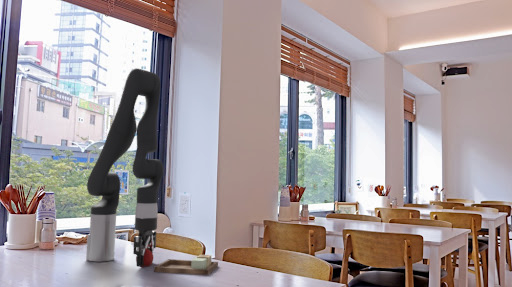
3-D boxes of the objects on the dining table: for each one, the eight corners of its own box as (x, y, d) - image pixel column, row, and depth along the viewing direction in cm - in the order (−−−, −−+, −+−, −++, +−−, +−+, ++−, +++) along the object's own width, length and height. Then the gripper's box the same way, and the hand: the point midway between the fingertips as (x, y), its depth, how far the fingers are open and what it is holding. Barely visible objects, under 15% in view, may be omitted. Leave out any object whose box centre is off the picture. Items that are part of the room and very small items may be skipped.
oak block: (196, 268, 146) (196, 256, 146) (199, 266, 150) (200, 254, 150) (208, 269, 145) (208, 257, 146) (211, 266, 149) (211, 255, 150)
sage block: (191, 272, 140) (191, 260, 140) (194, 270, 144) (195, 257, 144) (202, 273, 140) (203, 260, 140) (206, 270, 143) (206, 258, 144)
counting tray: (153, 276, 141) (154, 266, 141) (168, 267, 153) (168, 259, 154) (207, 279, 138) (207, 270, 138) (217, 270, 150) (217, 262, 151)
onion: (148, 271, 147) (149, 247, 147) (132, 270, 148) (133, 246, 148) (155, 268, 152) (156, 245, 153) (140, 267, 153) (141, 244, 154)
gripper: (144, 213, 159) (142, 259, 158) (127, 217, 145) (124, 267, 144) (164, 214, 158) (162, 260, 157) (148, 218, 144) (146, 269, 142)
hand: (144, 264), depth 150 cm, fingers open, 7 cm apart
